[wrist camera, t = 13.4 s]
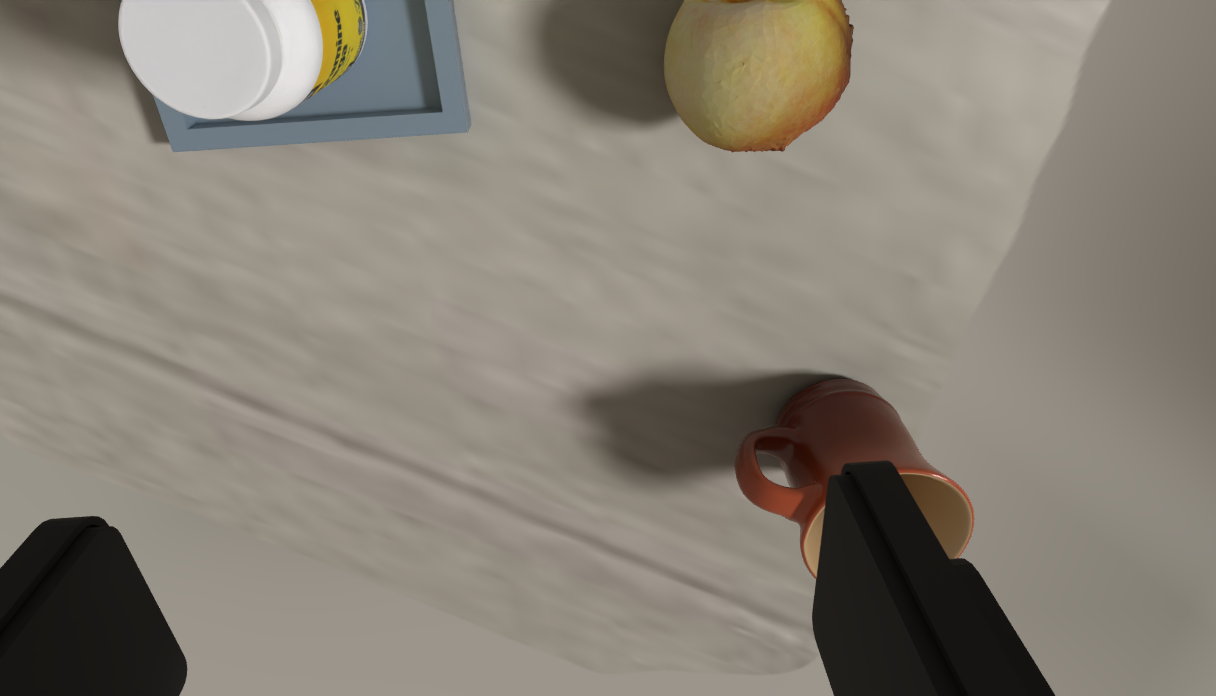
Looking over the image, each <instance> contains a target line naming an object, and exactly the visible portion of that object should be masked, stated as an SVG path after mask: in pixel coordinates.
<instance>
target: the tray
mask: <svg viewBox="0 0 1216 696" xmlns="http://www.w3.org/2000/svg"><path fill="white" fill-rule="evenodd" d="M121 2H122V0H120V3H121ZM364 2H365V5H366V11H367V19H368V27H367V36H366V41H365V44H364V47H363V50H362V52H361V54H360V56H359V57H358V59H357V60H356V62H355V63H354V64H353V66H352V67H351V68H350V69H349V70H348V71H347V72H346V73H345V74H344V75H342V76H341V77H340V78H338V79H337V80H336V81H334V82H332V83H331V84H329V85H327V86H326V87H325V88H323V89H321V90H320V91H319V92H317V93H316V94H314V95H313V96H311V97H310V98H309V99H307V100H305V101H304V102H302V103H301V104H299V105H298V106H296V107H295V108H293V109H291V110H290V111H288V112H286V113H284V114H282V115H279V116H277V117H274V118H270V119H265V120H258V121H243V120H235V119H230V118H224V119H203V118H197V117H193V116H190V115H186V114H184V113H181V112H179V111H177V110H175V109H173V108H171V107H170V106H168V105H166V104H165V103H163V102H162V101H160V100H159V99H158V98H157V97H155V96H154V95H153V97H154V100H155V102H156V105H157V108H158V111H159V114H160V117H161V120H162V122H163V125H164V128H165V131H166V134H167V137H168V139H169V142H170V145H171V148H172V151H173V152H182V151H197V150H211V149H226V148H241V147H256V146H271V145H286V144H301V143H316V142H330V141H345V140H360V139H375V138H390V137H405V136H420V135H434V134H449V133H464V132H468V130H469V128H470V126H471V120H470V114H469V107H468V100H467V93H466V86H465V80H464V73H463V66H462V59H461V52H460V45H459V39H458V32H457V25H456V18H455V11H454V5H453V0H364Z"/></svg>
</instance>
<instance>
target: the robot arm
mask: <svg viewBox="0 0 1216 696" xmlns="http://www.w3.org/2000/svg"><path fill="white" fill-rule="evenodd" d="M812 622H813V631H814V635H815V640H816V643H817V646H818V649H819V652H820V655H821V658H822V661H823V664H824V667H825V670H826V673H827V676H828V679H829V682H830V685H831V688H832V691H833V694H834V696H1055V694H1054V693H1053V691H1052V689H1051V688H1050V686H1049V685H1048V683H1047V681H1046V680H1045V678H1044V677H1043V675H1042V673H1041V672H1040V670H1039V668H1038V667H1037V665H1036V664H1035V662H1034V660H1033V659H1032V657H1031V656H1030V654H1029V652H1028V651H1027V649H1026V648H1025V646H1024V644H1023V643H1022V641H1021V639H1020V638H1019V637H1018V635H1017V633H1016V631H1015V630H1014V628H1013V627H1012V625H1011V623H1010V622H1009V620H1008V619H1007V617H1006V615H1005V614H1004V612H1003V610H1002V609H1001V607H1000V606H999V604H998V603H997V601H996V599H995V597H994V596H993V594H992V593H991V591H990V589H989V588H988V586H987V585H986V583H985V581H984V580H983V578H982V577H981V575H980V574H979V572H978V571H977V570H976V568H975V567H974V566H973V564H971V563H970V562H968V561H967V560H966V559H962V558H961V559H960V558H955V559H949V557H948V556H947V554H946V552H945V551H944V549H943V547H942V546H941V544H940V542H939V540H938V539H937V537H936V535H935V534H934V532H933V530H932V529H931V527H930V525H929V523H928V522H927V520H926V518H925V517H924V515H923V513H922V511H921V510H920V508H919V506H918V505H917V503H916V501H915V500H914V498H913V496H912V494H911V493H910V491H909V489H908V488H907V486H906V484H905V483H904V481H903V479H902V477H901V476H900V474H899V472H898V471H897V469H896V467H895V466H894V465H893V463H892V462H890V461H888V460H884V461H870V462H856V463H846V464H844V466H843V467H842V471H841V475H832V476H830V477H829V480H828V485H827V494H826V502H825V510H824V519H823V527H822V536H821V544H820V553H819V561H818V569H817V578H816V586H815V595H814V603H813V612H812ZM186 676H187V662H186V659H185V657H184V654H183V653H182V651H181V649H180V647H179V645H178V643H177V641H176V639H175V637H174V635H173V633H172V631H171V629H170V627H169V626H168V624H167V622H166V620H165V618H164V616H163V614H162V612H161V610H160V608H159V606H158V605H157V603H156V601H155V599H154V597H153V595H152V593H151V591H150V589H149V587H148V585H147V584H146V581H145V579H144V578H143V576H142V574H141V572H140V570H139V568H138V566H137V564H136V562H135V561H134V558H133V557H132V554H131V553H130V551H129V549H128V547H127V545H126V543H125V542H124V539H123V537H122V535H121V533H120V532H119V531H118V530H117V529H116V528H114V527H111V526H109V525H108V524H107V523H106V521H105V520H104V519H102V518H100V517H97V516H89V517H73V518H59V519H50V520H47V521H44V522H42V523H41V524H40V525H39V526H38V527H37V528H36V529H35V530H34V531H33V532H32V533H31V534H30V535H29V537H28V538H27V539H26V540H25V541H24V542H23V543H22V545H21V546H20V547H19V548H18V549H17V550H16V551H15V552H14V554H13V555H12V556H11V557H10V558H9V559H8V560H7V561H6V563H5V564H4V565H3V566H2V567H1V568H0V696H179V695H180V693H181V691H182V689H183V686H184V684H185V681H186Z"/></svg>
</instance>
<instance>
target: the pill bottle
mask: <svg viewBox="0 0 1216 696" xmlns="http://www.w3.org/2000/svg"><path fill="white" fill-rule="evenodd" d="M367 27H368V19H367V11H366V5H365V2H364V0H122V2H121V5H120V10H119V15H118V31H119V38H120V42H121V46H122V49H123V52H124V55H125V57H126V59H127V61H128V63H129V65H130V67H131V69H132V70H133V72H134V73H135V75H136V76H137V78H138V79H139V80H140V82H141V83H142V84H143V85H144V86H145V87H146V88H147V89H148V90H149V91H150V92H151V93H152V94H153V95H154V96H155V97H157V98H158V99H159V100H160V101H162V102H163V103H165V104H166V105H168V106H170V107H171V108H173V109H175V110H177V111H179V112H181V113H184V114H186V115H190V116H193V117H197V118H203V119H224V118H230V119H235V120H243V121H258V120H265V119H270V118H274V117H277V116H279V115H282V114H284V113H286V112H288V111H290V110H291V109H293V108H295V107H296V106H298V105H299V104H301V103H302V102H304V101H305V100H307V99H309V98H310V97H311V96H313V95H314V94H316V93H317V92H319V91H320V90H321V89H323V88H325V87H326V86H327V85H329V84H331V83H332V82H334V81H336V80H337V79H338V78H340V77H341V76H342V75H344V74H345V73H346V72H347V71H348V70H349V69H350V68H351V67H352V66H353V64H354V63H355V62H356V60H357V59H358V57H359V56H360V54H361V52H362V50H363V47H364V44H365V41H366V36H367Z"/></svg>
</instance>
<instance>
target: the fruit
mask: <svg viewBox="0 0 1216 696" xmlns="http://www.w3.org/2000/svg"><path fill="white" fill-rule="evenodd" d="M845 10H846V8H844V5H843V3H842V0H684V1H683V3H682V5H681V7H680V9H679V11H678V13H677V15H676V16H675V18H674V21H673V23H672V25H671V28H670V31H669V35H668V38H667V42H666V47H665V54H664V77H665V82H666V87H667V90H668V93H669V96H670V99H671V101H672V103H673V105H674V107H675V109H676V111H677V113H678V114H679V116H680V117H681V119H682V120H683V122H684V123H685V124H686V125H687V126H688V128H689V129H690V130H691V131H692V132H693V133H694V134H695V135H696V136H697V137H698V138H700V139H701V140H702V141H704V142H705V143H707V144H710V145H712V146H715V147H718V148H721V149H724V150H728V151H732V152H740V151H745V152H747V151H753V152H755V151H762V152H763V151H768V150H771V151H784V150H785V147H786V146H787V145H789V144H790V143H791V142H792V141H793V140H795V139H796V138H798V137H799V136H800V135H801V134H802V133H803V132H806V131H808V130H809V129H811V128H812V127H813V126H815V125H816V124H818V123H819V122H820V121H822V120H823V119H824V118H825V116H826V115H827V114H828V113H829V112H830V111H831V110H832V109H833V108H834V106H835V104H836V103H837V102H838V100H839V99H840V97H841V94H842V93H843V92H844V90H845V88H846V86H847V85H848V83H849V79H850V59H851V46H852V42H853V39H852V34H853V29H854V27H853V25H851V24H849V16H848V15H846V14H845Z"/></svg>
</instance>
